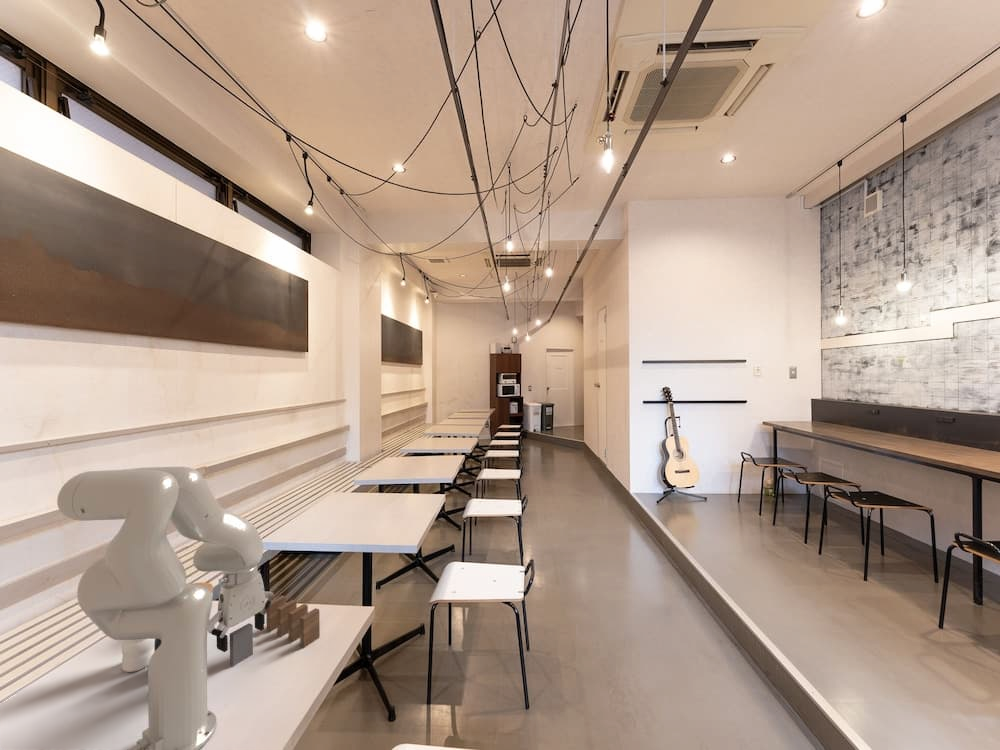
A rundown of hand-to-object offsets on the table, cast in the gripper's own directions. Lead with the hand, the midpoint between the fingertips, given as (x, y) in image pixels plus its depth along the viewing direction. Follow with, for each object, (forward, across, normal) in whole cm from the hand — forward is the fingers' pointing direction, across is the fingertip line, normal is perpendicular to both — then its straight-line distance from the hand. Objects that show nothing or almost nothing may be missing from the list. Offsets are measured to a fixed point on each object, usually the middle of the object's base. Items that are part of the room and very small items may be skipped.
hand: (241, 639), depth 107 cm
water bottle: (+5, -13, +22) cm, 26 cm away
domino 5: (+5, +13, -10) cm, 17 cm away
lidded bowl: (+6, +2, +31) cm, 31 cm away
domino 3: (+5, +13, 0) cm, 14 cm away
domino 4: (+5, +13, -5) cm, 15 cm away
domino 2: (+5, +13, +5) cm, 15 cm away
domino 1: (+5, 0, 0) cm, 5 cm away
